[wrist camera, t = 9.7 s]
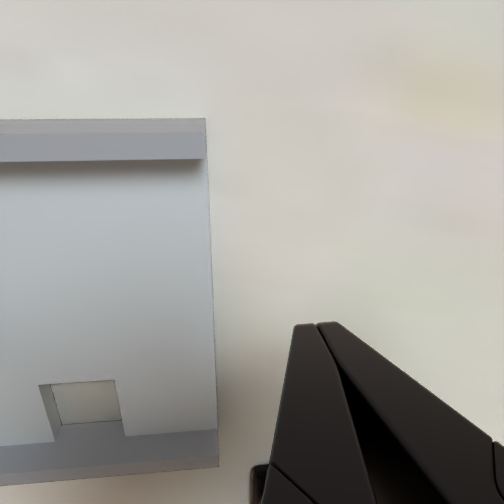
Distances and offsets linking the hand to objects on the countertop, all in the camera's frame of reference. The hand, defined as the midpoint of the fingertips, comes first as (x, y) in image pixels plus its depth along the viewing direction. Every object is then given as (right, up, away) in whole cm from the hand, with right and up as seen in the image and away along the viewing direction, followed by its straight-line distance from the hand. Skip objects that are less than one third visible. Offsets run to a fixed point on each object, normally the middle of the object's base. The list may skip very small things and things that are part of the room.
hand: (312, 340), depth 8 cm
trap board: (-14, -1, +13) cm, 19 cm away
